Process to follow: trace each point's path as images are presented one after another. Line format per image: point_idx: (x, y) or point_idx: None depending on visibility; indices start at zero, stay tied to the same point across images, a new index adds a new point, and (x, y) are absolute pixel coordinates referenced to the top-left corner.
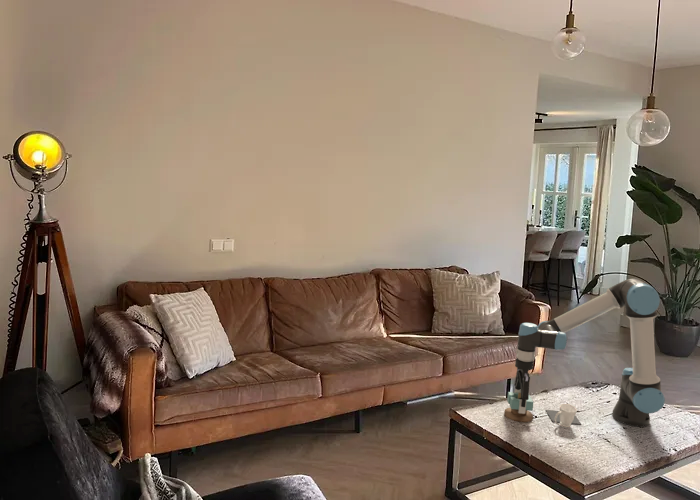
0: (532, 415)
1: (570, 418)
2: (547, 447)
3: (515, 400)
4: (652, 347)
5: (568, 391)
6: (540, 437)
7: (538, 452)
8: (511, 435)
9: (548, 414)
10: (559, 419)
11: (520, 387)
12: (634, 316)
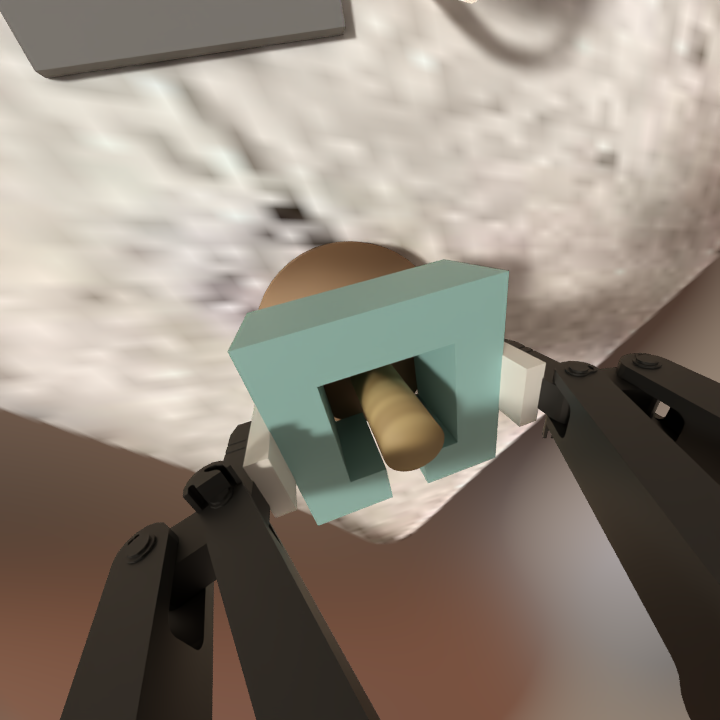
0: (351, 246)
1: None
2: (692, 159)
3: (495, 436)
4: None
5: None
6: (593, 195)
7: (716, 216)
8: (569, 343)
9: (172, 53)
10: None
11: (255, 513)
12: None
